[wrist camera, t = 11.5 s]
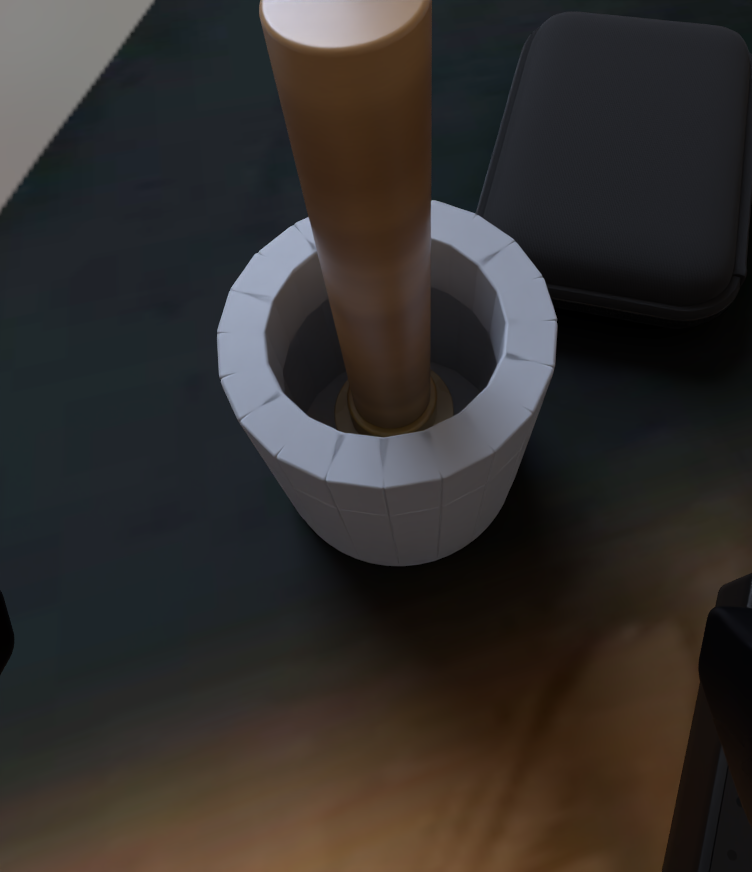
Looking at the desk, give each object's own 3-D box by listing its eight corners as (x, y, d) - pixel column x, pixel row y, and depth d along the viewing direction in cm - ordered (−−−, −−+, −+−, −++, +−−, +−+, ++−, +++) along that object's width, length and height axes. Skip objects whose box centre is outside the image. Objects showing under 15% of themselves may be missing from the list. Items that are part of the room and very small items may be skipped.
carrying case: (747, 364, 22) (766, 82, 28) (793, 315, 20) (804, 12, 25) (454, 309, 24) (524, 54, 30) (457, 257, 22) (534, -14, 27)
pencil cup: (540, 544, 21) (601, 452, 13) (297, 585, 21) (226, 516, 13) (486, 338, 24) (511, 172, 16) (277, 374, 24) (210, 225, 17)
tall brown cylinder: (460, 488, 21) (520, 61, 7) (353, 506, 21) (208, 117, 7) (439, 393, 22) (456, -113, 9) (339, 410, 22) (198, -66, 9)
